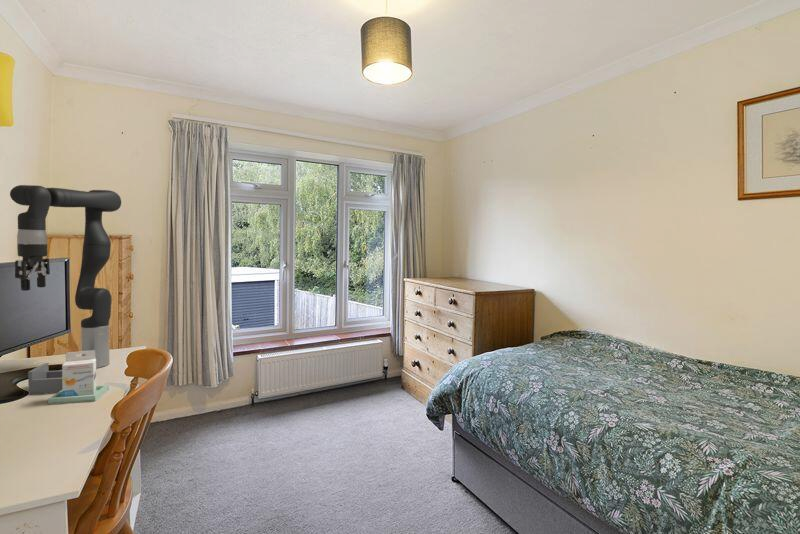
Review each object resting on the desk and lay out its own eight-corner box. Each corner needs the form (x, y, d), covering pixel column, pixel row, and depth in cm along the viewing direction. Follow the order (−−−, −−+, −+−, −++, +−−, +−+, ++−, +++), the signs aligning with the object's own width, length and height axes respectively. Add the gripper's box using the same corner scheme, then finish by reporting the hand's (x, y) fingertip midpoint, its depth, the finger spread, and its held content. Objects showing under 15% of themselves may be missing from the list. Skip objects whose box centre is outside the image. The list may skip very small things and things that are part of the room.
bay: (45, 384, 139) (45, 363, 139) (85, 382, 143) (85, 361, 142) (28, 394, 130) (28, 371, 130) (71, 391, 134) (71, 369, 133)
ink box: (61, 399, 126) (60, 356, 125) (65, 394, 130) (64, 352, 129) (94, 395, 130) (93, 353, 129) (96, 390, 134) (96, 349, 133)
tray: (65, 392, 133) (65, 387, 133) (108, 389, 137) (108, 384, 137) (48, 404, 123) (48, 399, 123) (95, 401, 127) (95, 395, 127)
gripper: (32, 242, 138) (33, 286, 139) (4, 242, 124) (5, 291, 125) (57, 243, 140) (58, 286, 141) (32, 243, 126) (33, 291, 127)
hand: (33, 288), depth 133 cm, fingers open, 8 cm apart
